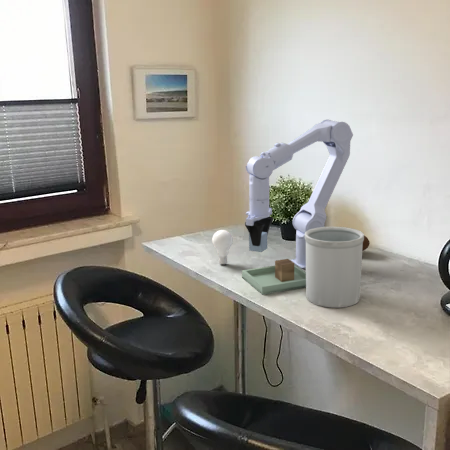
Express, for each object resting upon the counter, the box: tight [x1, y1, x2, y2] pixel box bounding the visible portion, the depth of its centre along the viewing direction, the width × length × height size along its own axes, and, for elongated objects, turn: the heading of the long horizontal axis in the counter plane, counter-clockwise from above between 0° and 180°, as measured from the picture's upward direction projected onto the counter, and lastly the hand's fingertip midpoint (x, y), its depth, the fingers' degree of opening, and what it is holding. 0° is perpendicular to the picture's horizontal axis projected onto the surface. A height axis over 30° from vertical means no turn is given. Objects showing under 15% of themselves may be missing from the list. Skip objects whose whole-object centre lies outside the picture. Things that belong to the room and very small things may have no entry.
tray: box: [241, 264, 306, 295], centre depth 159 cm, size 16×14×2 cm
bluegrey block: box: [248, 232, 268, 253], centre depth 166 cm, size 4×4×5 cm
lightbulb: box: [211, 229, 234, 266], centre depth 173 cm, size 6×6×11 cm
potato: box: [362, 234, 371, 252], centre depth 180 cm, size 7×10×8 cm
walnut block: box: [274, 258, 295, 282], centre depth 159 cm, size 4×4×5 cm
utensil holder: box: [305, 226, 365, 309], centre depth 145 cm, size 15×15×18 cm
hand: (259, 243), depth 166 cm, fingers closed on bluegrey block, 4 cm apart
